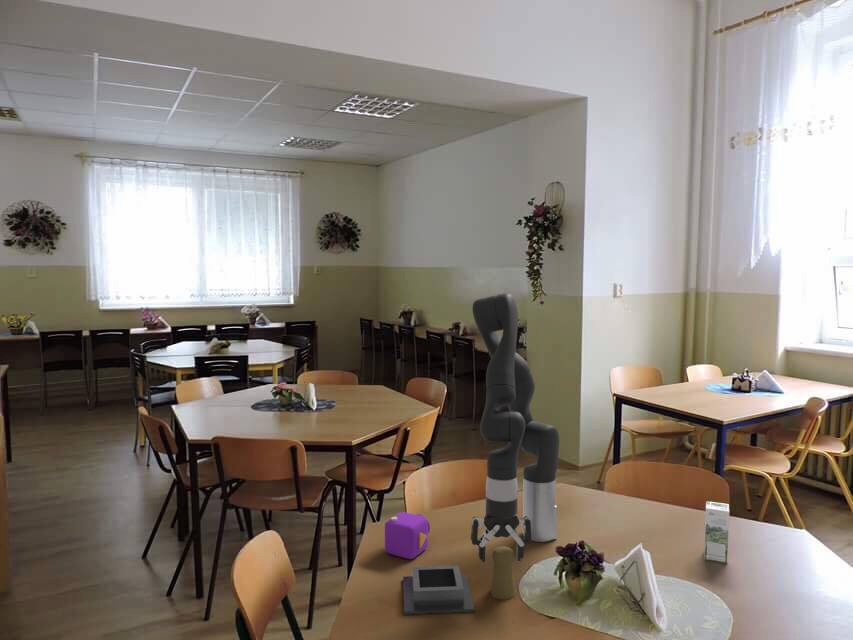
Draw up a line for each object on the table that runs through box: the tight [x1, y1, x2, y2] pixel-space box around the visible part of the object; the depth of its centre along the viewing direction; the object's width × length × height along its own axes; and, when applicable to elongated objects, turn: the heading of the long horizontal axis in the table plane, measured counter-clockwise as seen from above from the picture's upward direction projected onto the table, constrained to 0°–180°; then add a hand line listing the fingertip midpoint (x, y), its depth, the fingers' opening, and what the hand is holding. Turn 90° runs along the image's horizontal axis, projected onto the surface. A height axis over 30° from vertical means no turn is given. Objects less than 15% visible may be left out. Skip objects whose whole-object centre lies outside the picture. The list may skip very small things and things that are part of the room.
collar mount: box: [402, 565, 476, 616], centre depth 150 cm, size 16×16×4 cm
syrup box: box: [703, 500, 730, 564], centre depth 168 cm, size 6×6×14 cm
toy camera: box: [384, 511, 431, 560], centre depth 174 cm, size 11×14×10 cm
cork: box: [490, 545, 517, 600], centre depth 151 cm, size 6×6×11 cm
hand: (500, 560), depth 150 cm, fingers open, 8 cm apart
